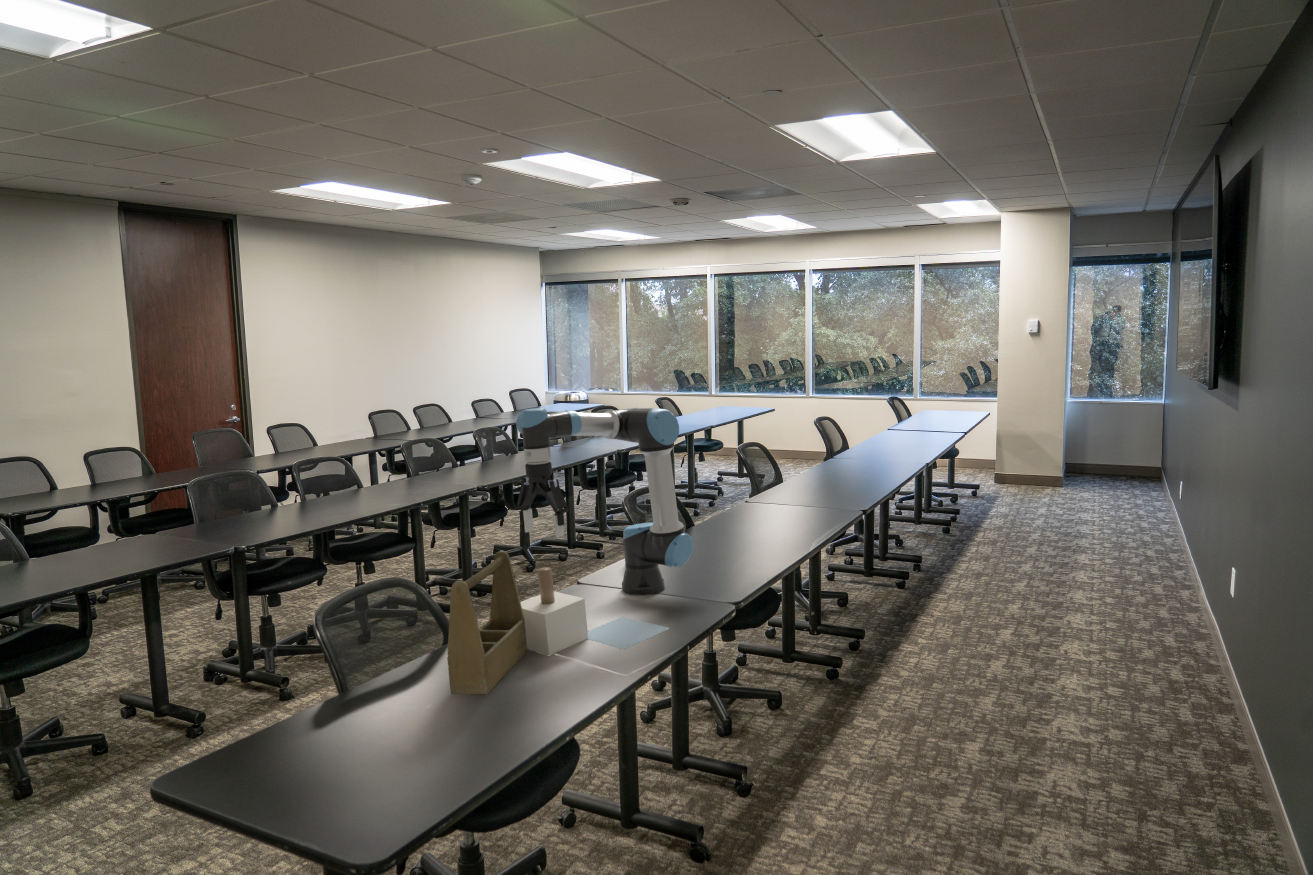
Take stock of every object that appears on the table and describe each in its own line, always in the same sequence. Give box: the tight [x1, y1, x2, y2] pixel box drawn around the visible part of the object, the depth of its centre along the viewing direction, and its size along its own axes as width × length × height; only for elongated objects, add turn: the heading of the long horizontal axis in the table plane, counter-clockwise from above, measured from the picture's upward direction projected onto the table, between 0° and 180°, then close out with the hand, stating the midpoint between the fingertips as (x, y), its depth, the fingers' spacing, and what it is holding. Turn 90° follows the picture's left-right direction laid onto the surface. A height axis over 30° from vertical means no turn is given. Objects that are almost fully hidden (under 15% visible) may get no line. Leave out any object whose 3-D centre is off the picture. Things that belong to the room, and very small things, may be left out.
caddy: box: [446, 550, 528, 695], centre depth 226 cm, size 29×11×30 cm, turn 168°
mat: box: [587, 616, 671, 650], centre depth 250 cm, size 20×20×1 cm
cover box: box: [520, 566, 589, 657], centre depth 245 cm, size 15×15×22 cm
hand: (544, 533), depth 243 cm, fingers open, 13 cm apart
